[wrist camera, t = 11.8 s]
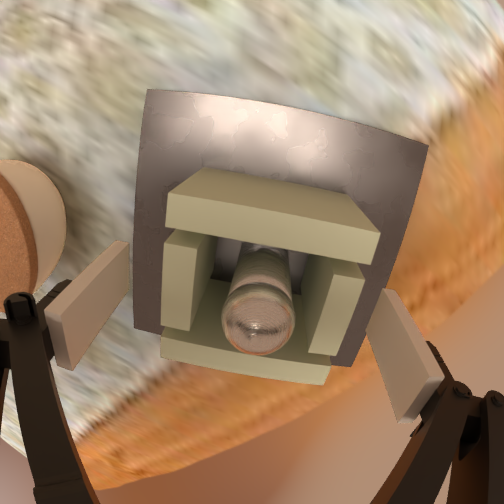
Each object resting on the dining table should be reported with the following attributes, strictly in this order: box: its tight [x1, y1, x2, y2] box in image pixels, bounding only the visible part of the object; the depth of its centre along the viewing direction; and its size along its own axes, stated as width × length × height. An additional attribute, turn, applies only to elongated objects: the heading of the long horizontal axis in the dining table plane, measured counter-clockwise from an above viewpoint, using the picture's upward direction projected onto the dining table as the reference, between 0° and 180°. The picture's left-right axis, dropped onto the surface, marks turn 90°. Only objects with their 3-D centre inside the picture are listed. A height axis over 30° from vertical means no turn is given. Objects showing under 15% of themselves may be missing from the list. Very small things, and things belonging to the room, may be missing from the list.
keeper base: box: [133, 89, 429, 367], centre depth 17 cm, size 18×18×11 cm
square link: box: [161, 167, 381, 385], centre depth 18 cm, size 9×9×7 cm
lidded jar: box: [0, 160, 67, 312], centre depth 19 cm, size 11×11×9 cm
